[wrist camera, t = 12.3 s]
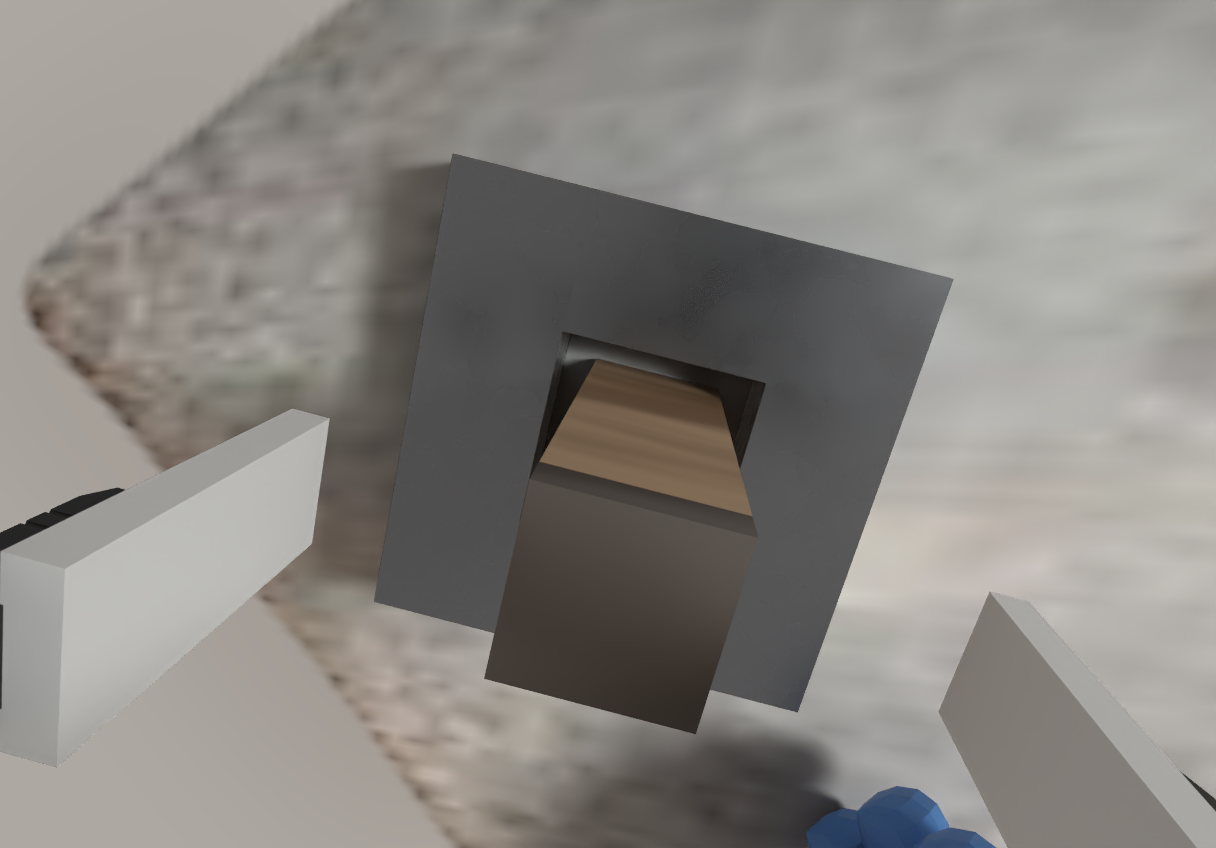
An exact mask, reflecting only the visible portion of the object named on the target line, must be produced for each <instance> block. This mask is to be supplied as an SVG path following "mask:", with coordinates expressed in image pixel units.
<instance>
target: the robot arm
mask: <svg viewBox="0 0 1216 848" xmlns="http://www.w3.org/2000/svg"><path fill="white" fill-rule="evenodd" d="M329 420H330V418H326V417H323V416H319V415H315V414H311V413H307V412H303V411H300V410H296V409H290V410H288V411H286V412H284V413H282V414H280V415H278V416H276V417H274V418H272V419H270V420H268V421H266V422H264V423H262V424H260V425H258V426H256V427H254V428H252V429H250V430H247V431H245V432H243V433H241V434H239V435H237V436H235V437H233V438H231V439H229V440H227V441H225V442H223V443H221V444H219V445H217V446H215V447H213V448H211V449H209V450H207V451H205V452H203V453H200V454H198V455H196V456H194V457H192V458H190V459H188V460H186V461H184V462H182V463H180V464H178V465H176V466H174V467H172V468H170V469H168V470H166V471H164V472H162V473H160V474H158V475H156V476H153V477H151V478H149V479H147V480H145V481H143V482H141V483H140V484H137V485H135V486H133V487H131V488H129V489H127V490H124V489H120V488H114V489H109V490H105V491H100V492H96V493H91V494H86V495H82V496H79V497H77V498H74V499H72V500H70V501H68V502H66V503H64V504H61V505H59V506H57V507H55V508H53V509H51V511H50V513H47V512H44V513H42V514H40V515H38V516H35V517H33V518H31V519H29V520H27V521H26V524H25V525H24V524H21V523H20V524H18V525H16V526H14V527H12V528H9V529H7V530H5V531H3V532H1V533H0V752H3V753H6V754H10V755H14V756H17V757H21V758H24V759H28V760H32V761H35V762H38V763H42V764H46V765H50V766H53V767H58V766H59V765H60V764H61V763H62V762H64V761H65V760H66V759H67V758H68V757H69V756H70V755H72V754H73V753H74V752H75V751H76V750H77V749H78V748H80V747H81V746H82V745H83V744H84V743H85V742H86V741H88V740H89V739H90V738H91V737H92V736H93V735H94V734H96V733H97V732H98V731H99V730H100V729H101V728H102V727H103V726H105V725H106V724H107V723H108V722H109V721H110V720H112V719H113V718H114V717H115V716H116V715H117V714H118V713H119V712H121V711H122V710H123V709H124V708H125V707H126V706H127V705H129V704H130V703H131V702H132V701H133V700H134V699H135V698H137V697H138V696H139V695H140V694H141V693H142V692H143V691H145V690H146V689H147V688H148V687H149V686H150V685H151V684H153V683H154V682H155V681H156V680H157V679H158V678H159V677H161V676H162V675H163V674H164V673H165V672H166V671H167V670H169V669H170V668H171V667H172V666H173V665H174V664H175V663H176V662H178V661H179V660H180V659H181V658H182V657H183V656H185V655H186V654H187V653H188V652H189V651H190V650H191V649H192V648H194V647H195V646H196V645H197V644H198V643H199V642H200V641H202V640H203V639H204V638H205V637H206V636H207V635H208V634H210V633H211V632H212V631H213V630H214V629H215V628H216V627H218V626H219V625H220V624H221V623H222V622H223V621H224V620H226V619H227V618H228V617H229V616H230V615H231V614H232V613H234V612H235V611H236V610H237V609H238V608H239V607H240V606H242V604H244V603H245V602H246V601H247V600H248V599H250V598H251V597H252V596H253V595H254V594H255V593H256V592H258V591H259V590H260V589H261V588H262V587H263V586H264V585H266V584H267V583H268V582H269V581H270V580H271V579H272V578H273V577H275V576H276V575H277V574H278V573H279V572H280V571H281V570H283V569H284V568H285V567H286V566H287V565H288V564H289V563H291V562H292V561H293V560H294V559H295V558H296V557H297V556H299V555H300V554H301V553H302V552H303V551H304V550H305V549H307V548H308V547H309V546H310V545H311V544H312V540H313V533H314V526H315V519H316V512H317V505H318V497H319V490H320V483H321V476H322V469H323V462H324V455H325V448H326V441H327V434H328V427H329ZM939 714H940V716H941V717H942V719H943V721H944V723H945V725H946V727H947V729H948V731H949V733H950V735H951V737H952V739H953V741H954V743H955V745H956V747H957V749H958V751H959V753H960V755H961V757H962V759H963V761H964V763H965V765H966V767H967V768H968V770H969V772H970V774H971V776H972V778H973V780H974V782H975V784H976V786H977V788H978V790H979V792H980V794H981V796H982V798H983V800H984V802H985V804H986V806H987V808H988V810H989V812H990V814H991V816H992V818H993V819H994V821H995V823H996V825H997V827H998V829H999V831H1000V833H1001V835H1002V837H1003V839H1004V841H1005V843H1006V845H1007V847H1008V848H1216V800H1215V799H1214V798H1213V797H1212V796H1211V795H1210V794H1208V793H1207V792H1206V791H1205V790H1203V789H1202V788H1201V787H1199V786H1198V785H1197V784H1196V783H1194V782H1193V781H1192V780H1191V779H1189V778H1188V777H1187V776H1186V775H1184V774H1183V773H1182V772H1180V771H1179V770H1178V769H1177V767H1176V766H1175V765H1174V764H1173V763H1172V762H1171V761H1170V760H1169V758H1168V757H1167V756H1166V755H1165V754H1164V753H1163V752H1162V751H1161V749H1160V748H1159V747H1158V746H1157V745H1156V744H1155V743H1154V742H1153V740H1152V739H1151V738H1150V737H1149V736H1148V735H1147V734H1146V733H1145V731H1144V730H1143V729H1142V728H1141V727H1140V726H1139V725H1138V724H1137V722H1136V721H1135V720H1134V719H1133V718H1132V717H1131V716H1130V715H1129V714H1128V712H1127V711H1126V710H1125V709H1124V708H1123V707H1122V706H1121V705H1120V703H1119V702H1118V701H1117V700H1116V699H1115V698H1114V697H1113V696H1112V694H1111V693H1110V692H1109V691H1108V690H1107V689H1106V688H1105V687H1104V685H1103V684H1102V683H1101V682H1100V681H1099V680H1098V679H1097V678H1096V676H1095V675H1094V674H1093V673H1092V672H1091V671H1090V670H1089V669H1088V667H1087V666H1086V665H1085V664H1084V663H1083V662H1082V661H1081V660H1080V658H1079V657H1078V656H1077V655H1076V654H1075V653H1074V652H1073V651H1072V649H1071V648H1070V647H1069V646H1068V645H1067V644H1066V643H1065V642H1064V640H1063V639H1062V638H1061V637H1060V636H1059V635H1058V634H1057V633H1056V631H1055V630H1054V629H1053V628H1052V627H1051V626H1050V625H1049V624H1048V622H1047V621H1046V620H1045V619H1044V618H1043V617H1042V616H1041V615H1040V613H1039V612H1038V611H1037V610H1036V609H1035V608H1034V607H1033V606H1032V604H1031V603H1030V602H1027V601H1023V600H1019V599H1016V598H1012V597H1008V596H1004V595H1000V594H997V593H993V592H989V595H988V597H987V599H986V602H985V604H984V606H983V609H982V611H981V613H980V616H979V618H978V620H977V623H976V625H975V627H974V630H973V632H972V635H971V637H970V639H969V642H968V644H967V646H966V649H965V651H964V653H963V656H962V658H961V660H960V663H959V665H958V667H957V670H956V672H955V674H954V677H953V679H952V681H951V684H950V686H949V688H948V691H947V693H946V695H945V698H944V700H943V702H942V705H941V707H940V710H939Z"/></svg>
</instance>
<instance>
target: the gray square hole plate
mask: <svg viewBox="0 0 1216 848" xmlns="http://www.w3.org/2000/svg"><path fill="white" fill-rule="evenodd" d="M952 282H953V279H952V278H948V277H944V276H940V275H936V274H932V273H928V272H924V271H920V270H916V269H912V268H908V267H904V266H900V265H896V264H892V263H888V262H884V261H880V260H876V259H872V258H868V257H864V256H860V255H856V254H852V253H848V252H844V251H840V250H836V249H832V248H828V247H824V246H820V245H816V244H812V243H808V242H804V241H800V240H796V239H792V238H788V237H784V236H780V235H776V234H772V233H768V232H764V231H760V230H756V229H752V228H748V227H744V226H740V225H736V224H732V223H728V222H724V221H720V220H716V219H712V218H708V217H704V216H700V215H696V214H692V213H688V212H684V211H680V210H676V209H672V208H668V207H664V206H660V205H656V204H652V203H648V202H644V201H640V200H636V199H632V198H628V197H624V196H620V195H616V194H612V193H609V192H605V191H601V190H597V189H593V188H589V187H585V186H581V185H577V184H573V183H569V182H565V181H561V180H557V179H553V178H549V177H545V176H541V175H537V174H533V173H529V172H525V171H521V170H517V169H513V168H509V167H505V166H501V165H497V164H493V163H489V162H485V161H481V160H477V159H473V158H469V157H465V156H461V155H457V154H452V160H451V166H450V171H449V177H448V183H447V189H446V194H445V200H444V206H443V211H442V217H441V223H440V228H439V234H438V240H437V245H436V251H435V257H434V263H433V268H432V274H431V280H430V285H429V291H428V297H427V302H426V308H425V314H424V320H423V325H422V331H421V337H420V342H419V348H418V354H417V359H416V365H415V371H414V376H413V382H412V388H411V394H410V399H409V405H408V411H407V416H406V422H405V428H404V433H403V439H402V445H401V450H400V456H399V462H398V468H397V473H396V479H395V485H394V490H393V496H392V502H391V507H390V513H389V519H388V524H387V530H386V536H385V542H384V547H383V553H382V559H381V564H380V570H379V576H378V581H377V587H376V593H375V598H374V602H377V603H381V604H385V605H389V606H393V607H397V608H400V609H404V610H408V611H412V612H416V613H420V614H423V615H427V616H431V617H435V618H439V619H443V620H446V621H450V622H454V623H458V624H462V625H465V626H469V627H473V628H477V629H481V630H485V631H488V632H492V633H495V629H496V625H497V620H498V616H499V611H500V607H501V603H502V598H503V594H504V589H505V585H506V580H507V576H508V572H509V567H510V563H511V558H512V554H513V550H514V545H515V541H516V536H517V532H518V527H519V523H520V519H521V514H522V510H523V505H524V501H525V497H526V492H527V488H528V483H529V479H530V477H531V475H532V474H533V472H534V470H535V468H536V467H537V465H538V463H539V461H540V459H541V458H542V455H543V451H544V447H545V442H546V438H547V433H548V429H549V425H550V420H551V416H552V412H553V407H554V403H555V399H556V394H557V390H558V385H559V381H560V377H561V372H562V368H563V364H564V359H565V355H566V351H567V346H568V342H569V337H570V333H571V334H575V335H579V336H583V337H587V338H591V339H595V340H599V341H603V342H607V343H611V344H615V345H618V346H622V347H626V348H630V349H634V350H638V351H642V352H646V353H650V354H654V355H658V356H662V357H666V358H670V359H674V360H677V361H681V362H685V363H689V364H693V365H697V366H701V367H705V368H709V369H713V370H717V371H721V372H725V373H729V374H733V375H737V376H740V377H744V378H748V379H752V380H753V383H752V386H751V389H750V393H749V396H748V399H747V403H746V406H745V409H744V413H743V416H742V419H741V423H740V426H739V429H738V433H737V436H736V439H735V443H734V450H735V454H736V457H737V461H738V465H739V468H740V472H741V476H742V479H743V483H744V487H745V491H746V494H747V498H748V502H749V505H750V509H751V513H752V516H753V520H754V524H755V527H756V531H757V535H758V541H757V544H756V547H755V550H754V553H753V557H752V560H751V563H750V566H749V569H748V572H747V575H746V578H745V582H744V585H743V588H742V591H741V594H740V597H739V600H738V603H737V607H736V610H735V613H734V616H733V619H732V622H731V625H730V628H729V632H728V635H727V638H726V641H725V644H724V647H723V650H722V653H721V657H720V660H719V663H718V666H717V669H716V672H715V675H714V678H713V682H712V685H711V688H710V690H714V691H718V692H722V693H726V694H730V695H733V696H737V697H741V698H745V699H749V700H752V701H756V702H760V703H764V704H768V705H772V706H775V707H779V708H783V709H787V710H791V711H795V712H798V710H799V707H800V704H801V702H802V699H803V696H804V693H805V690H806V688H807V685H808V682H809V679H810V677H811V674H812V671H813V668H814V665H815V663H816V660H817V657H818V654H819V652H820V649H821V646H822V643H823V640H824V638H825V635H826V632H827V629H828V627H829V624H830V621H831V618H832V615H833V613H834V610H835V607H836V604H837V602H838V599H839V596H840V593H841V590H842V588H843V585H844V582H845V579H846V577H847V574H848V571H849V568H850V565H851V563H852V560H853V557H854V554H855V551H856V549H857V546H858V543H859V540H860V538H861V535H862V532H863V529H864V526H865V524H866V521H867V518H868V515H869V513H870V510H871V507H872V504H873V501H874V499H875V496H876V493H877V490H878V488H879V485H880V482H881V479H882V476H883V474H884V471H885V468H886V465H887V463H888V460H889V457H890V454H891V451H892V449H893V446H894V443H895V440H896V438H897V435H898V432H899V429H900V426H901V424H902V421H903V418H904V415H905V413H906V410H907V407H908V404H909V401H910V399H911V396H912V393H913V390H914V388H915V385H916V382H917V379H918V376H919V374H920V371H921V368H922V365H923V363H924V360H925V357H926V354H927V351H928V349H929V346H930V343H931V340H932V338H933V335H934V332H935V329H936V326H937V324H938V321H939V318H940V315H941V312H942V310H943V307H944V304H945V301H946V299H947V296H948V293H949V290H950V287H951V285H952Z"/></svg>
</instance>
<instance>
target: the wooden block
mask: <svg viewBox="0 0 1216 848" xmlns="http://www.w3.org/2000/svg"><path fill="white" fill-rule="evenodd" d="M757 541H758V535H757V531H756V527H755V524H754V520H753V516H752V513H751V509H750V505H749V502H748V498H747V494H746V491H745V487H744V483H743V479H742V476H741V472H740V468H739V465H738V461H737V457H736V454H735V450H734V446H733V443H732V439H731V435H730V432H729V428H728V424H727V421H726V417H725V413H724V410H723V406H722V402H721V398H720V395H719V391H718V389H715V388H711V387H707V386H703V385H699V384H695V383H691V382H687V381H683V380H679V379H675V378H671V377H668V376H664V375H660V374H656V373H652V372H648V371H644V370H640V369H636V368H632V367H628V366H624V365H620V364H616V363H612V362H609V361H605V360H601V359H596V361H595V363H594V365H593V367H592V368H591V370H590V372H589V374H588V376H587V377H586V379H585V381H584V383H583V384H582V386H581V388H580V390H579V392H578V393H577V395H576V397H575V399H574V400H573V402H572V404H571V406H570V408H569V409H568V411H567V413H566V415H565V417H564V418H563V420H562V422H561V424H560V425H559V427H558V429H557V431H556V433H555V434H554V436H553V438H552V440H551V442H550V443H549V445H548V447H547V449H546V450H545V452H544V454H543V456H542V458H541V459H540V461H539V463H538V465H537V467H536V468H535V470H534V472H533V474H532V475H531V477H530V479H529V483H528V488H527V492H526V497H525V501H524V505H523V510H522V514H521V519H520V523H519V527H518V532H517V536H516V541H515V545H514V550H513V554H512V558H511V563H510V567H509V572H508V576H507V580H506V585H505V589H504V594H503V598H502V603H501V607H500V611H499V616H498V620H497V625H496V629H495V633H494V638H493V642H492V647H491V651H490V656H489V660H488V664H487V669H486V673H485V678H484V679H488V680H491V681H495V682H499V683H503V684H507V685H510V686H514V687H518V688H522V689H526V690H529V691H533V692H537V693H541V694H545V695H549V696H552V697H556V698H560V699H564V700H568V701H571V702H575V703H579V704H583V705H587V706H590V707H594V708H598V709H602V710H606V711H609V712H613V713H617V714H621V715H625V716H629V717H632V718H636V719H640V720H644V721H648V722H651V723H655V724H659V725H663V726H667V727H670V728H674V729H678V730H682V731H686V732H689V733H693V734H696V731H697V728H698V725H699V722H700V719H701V716H702V713H703V710H704V707H705V703H706V700H707V697H708V694H709V691H710V688H711V685H712V682H713V678H714V675H715V672H716V669H717V666H718V663H719V660H720V657H721V653H722V650H723V647H724V644H725V641H726V638H727V635H728V632H729V628H730V625H731V622H732V619H733V616H734V613H735V610H736V607H737V603H738V600H739V597H740V594H741V591H742V588H743V585H744V582H745V578H746V575H747V572H748V569H749V566H750V563H751V560H752V557H753V553H754V550H755V547H756V544H757Z"/></svg>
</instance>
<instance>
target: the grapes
mask: <svg viewBox="0 0 1216 848" xmlns="http://www.w3.org/2000/svg"><path fill="white" fill-rule="evenodd" d="M806 835H807V841H808V846H809V848H996V847H994V846H993V845H992V844H990V843H989V842H988V841H986V840H985V839H984V838H982V837H981V836H980V835H978V834H977V833H976V832H972V831H967V830H961V829H955V828H949V824H948V822H947V821H946V819H945V817H944V815H943V814H942V812H941V810H940V808H939V807H938V805H937V803H935V802H934V801H933V800H931V799H930V798H929V797H927V796H926V795H925V794H923V793H922V792H921V791H920V790H918V789H913V788H906V787H899V786H896V787H893V788H890V789H887V790H884V791H881V792H878V793H877V794H876V795H874V796H873V797H872V798H870V799H869V800H868V801H867V802H865V803H864V804H863V805H862V807H861V808H860V809H859V810H858V811H857V810H851V809H846V808H843V809H840V810H837V811H834V812H831V813H828V814H826V815H825V816H823V817H822V818H821V819H820V820H818V821H817V822H816V823H815V824H813V825H812V827H811V828H810V829H809V830H808V831H807V832H806Z"/></svg>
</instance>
